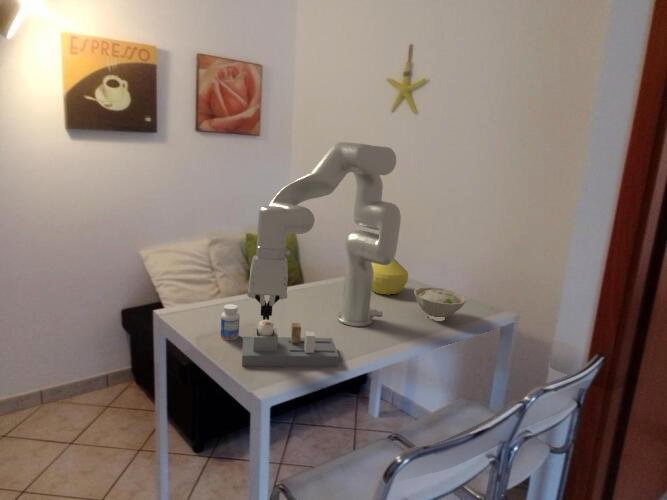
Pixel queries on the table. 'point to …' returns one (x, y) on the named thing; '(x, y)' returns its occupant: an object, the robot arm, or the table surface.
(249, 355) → the panel
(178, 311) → the table surface
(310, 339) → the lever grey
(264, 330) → the button ivory
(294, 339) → the lever oak
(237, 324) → the pill bottle
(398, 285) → the vase
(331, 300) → the table surface
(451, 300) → the bowl
